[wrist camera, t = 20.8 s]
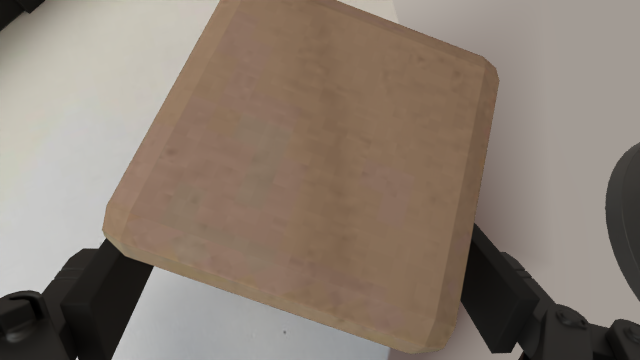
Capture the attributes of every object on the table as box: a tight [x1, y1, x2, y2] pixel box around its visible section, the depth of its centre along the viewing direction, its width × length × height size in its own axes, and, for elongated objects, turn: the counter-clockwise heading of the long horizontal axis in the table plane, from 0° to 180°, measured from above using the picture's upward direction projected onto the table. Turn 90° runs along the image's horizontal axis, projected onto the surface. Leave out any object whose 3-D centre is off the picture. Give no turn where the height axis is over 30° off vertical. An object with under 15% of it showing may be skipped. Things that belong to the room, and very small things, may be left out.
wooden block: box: [102, 0, 499, 354], centre depth 19 cm, size 10×10×20 cm
